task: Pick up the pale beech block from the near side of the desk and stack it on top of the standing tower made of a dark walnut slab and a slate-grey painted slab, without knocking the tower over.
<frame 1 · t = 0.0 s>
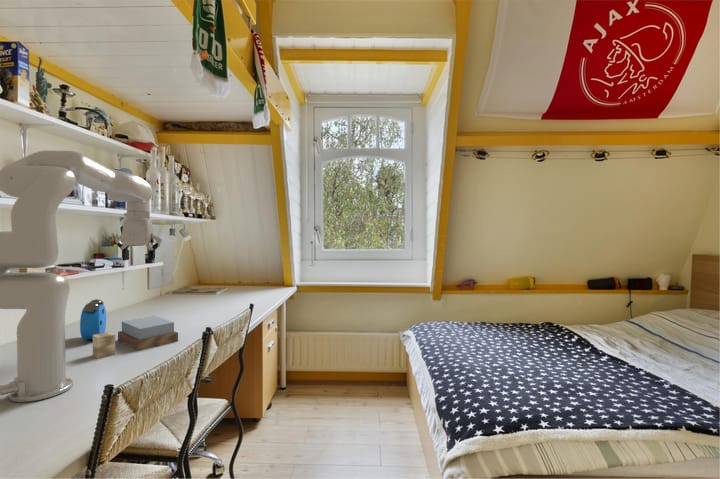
hand: (138, 260, 139), 31 cm above the table, tool pointing down, fingers open, 9 cm apart
walnut slab: (147, 342, 138), on the table, touching slate slab
beech block: (104, 354, 123), on the table
slate slab: (147, 332, 138), point 3 cm above the table, touching walnut slab
alarm clock: (94, 339, 140), on the table
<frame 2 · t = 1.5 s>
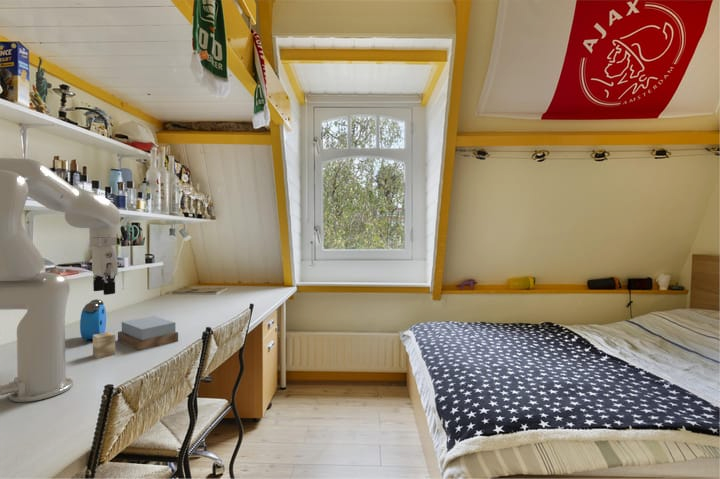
hand: (104, 292, 122), 21 cm above the table, tool pointing down, fingers open, 9 cm apart
nothing on the table moved.
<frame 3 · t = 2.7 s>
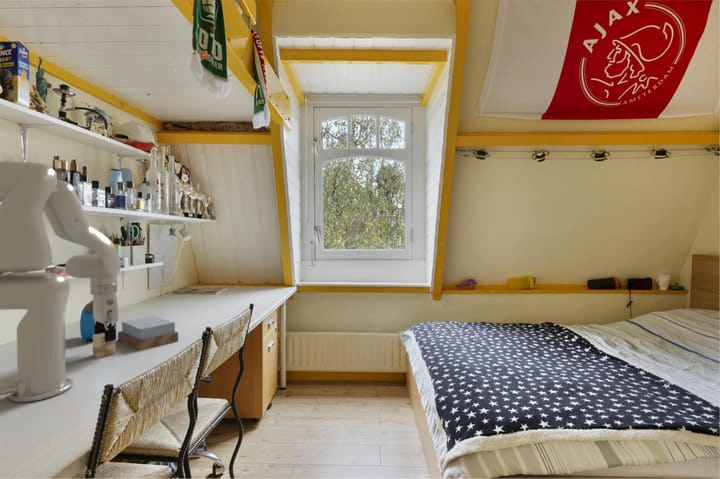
hand: (105, 337, 123), 6 cm above the table, tool pointing down, fingers open, 9 cm apart
nothing on the table moved.
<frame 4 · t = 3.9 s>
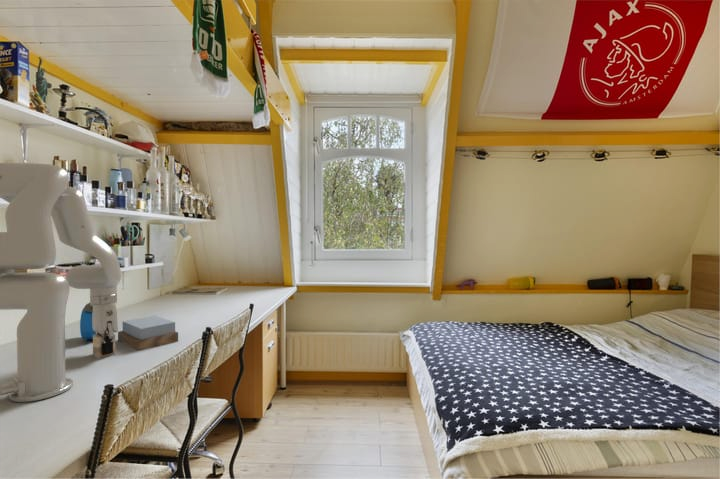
hand: (104, 351, 123), 1 cm above the table, tool pointing down, fingers closed on beech block, 5 cm apart
beech block: (104, 354, 123), on the table, touching gripper
everything else where it was.
when the fingers open (10 cm above the table, at t = 10.3 s): beech block drops 2 cm, point 7 cm above the table.
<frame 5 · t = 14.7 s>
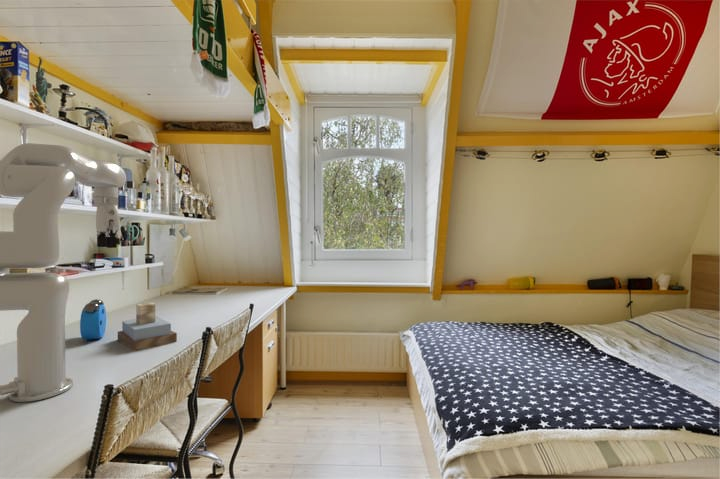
hand: (106, 247, 136), 36 cm above the table, tool pointing down, fingers open, 9 cm apart
beech block: (145, 322, 138), point 7 cm above the table
at the end: beech block inside the target area on the slate slab (0.2 cm from its centre), point 4.0 cm above the slate slab's base; beech block tilted 0°; slate slab 0.4 cm off-centre on the walnut slab, point 4.0 cm above the walnut slab's base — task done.
